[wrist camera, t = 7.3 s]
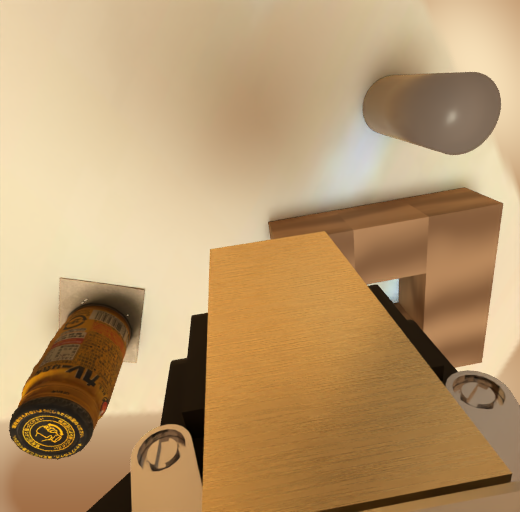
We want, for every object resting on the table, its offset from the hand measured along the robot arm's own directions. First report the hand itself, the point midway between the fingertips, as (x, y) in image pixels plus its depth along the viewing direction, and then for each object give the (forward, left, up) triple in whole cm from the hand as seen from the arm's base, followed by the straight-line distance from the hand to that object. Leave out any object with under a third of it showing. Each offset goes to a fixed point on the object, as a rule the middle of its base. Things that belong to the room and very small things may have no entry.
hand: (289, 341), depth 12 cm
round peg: (-4, +13, -22) cm, 25 cm away
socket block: (+12, +11, -22) cm, 27 cm away
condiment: (+11, -15, -22) cm, 29 cm away
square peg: (0, 0, -3) cm, 3 cm away
